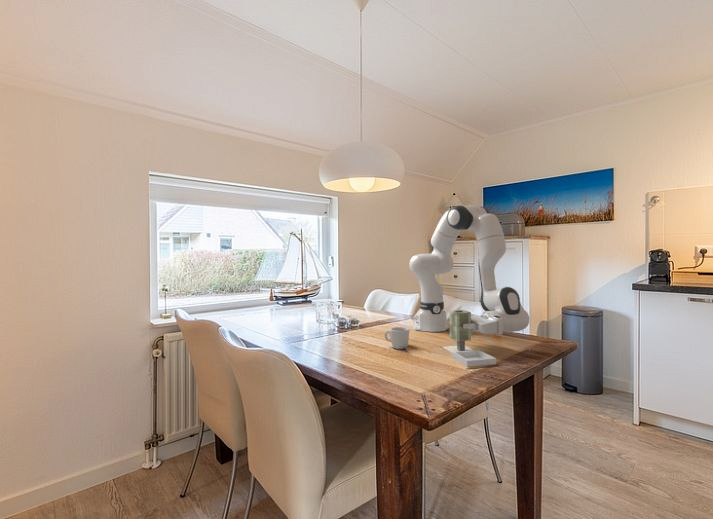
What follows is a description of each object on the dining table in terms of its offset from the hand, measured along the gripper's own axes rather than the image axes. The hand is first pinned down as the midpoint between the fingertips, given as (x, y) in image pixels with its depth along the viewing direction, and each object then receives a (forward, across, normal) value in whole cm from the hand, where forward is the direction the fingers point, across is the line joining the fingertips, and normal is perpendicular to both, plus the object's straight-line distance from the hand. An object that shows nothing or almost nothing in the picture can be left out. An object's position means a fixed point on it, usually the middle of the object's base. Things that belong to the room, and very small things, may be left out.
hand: (458, 324), depth 140 cm
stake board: (-1, -1, +11) cm, 12 cm away
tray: (+1, +13, +11) cm, 18 cm away
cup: (+21, -14, +12) cm, 28 cm away
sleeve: (-1, 0, +6) cm, 6 cm away
